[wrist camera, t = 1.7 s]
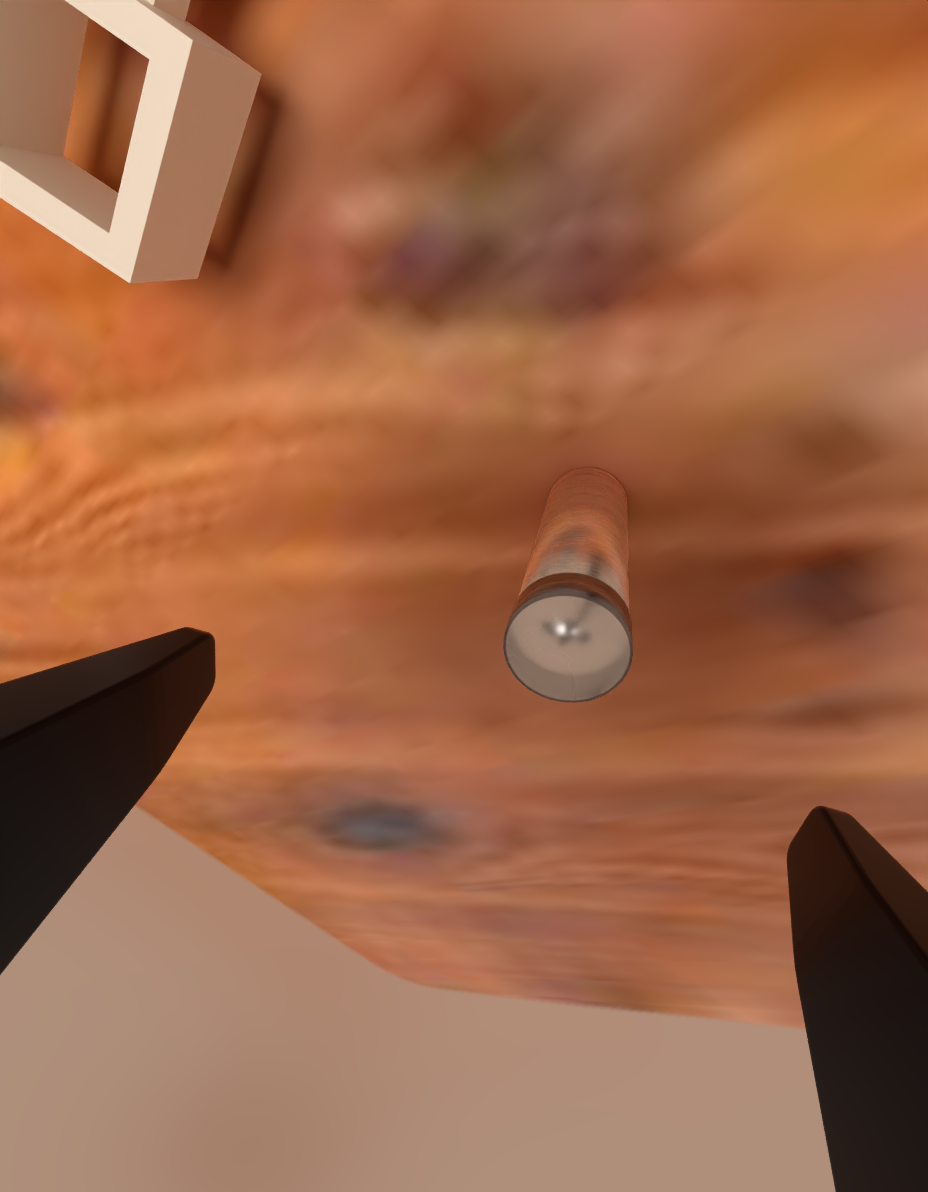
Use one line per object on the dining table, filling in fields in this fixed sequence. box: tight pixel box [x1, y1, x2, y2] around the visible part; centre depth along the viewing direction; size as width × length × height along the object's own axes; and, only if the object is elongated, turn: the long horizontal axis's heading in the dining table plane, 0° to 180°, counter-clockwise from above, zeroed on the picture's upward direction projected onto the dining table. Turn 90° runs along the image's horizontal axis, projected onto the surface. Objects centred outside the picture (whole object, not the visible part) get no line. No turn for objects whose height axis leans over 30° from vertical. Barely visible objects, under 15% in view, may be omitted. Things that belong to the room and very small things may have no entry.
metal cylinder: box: [504, 467, 633, 702], centre depth 17 cm, size 3×3×9 cm
